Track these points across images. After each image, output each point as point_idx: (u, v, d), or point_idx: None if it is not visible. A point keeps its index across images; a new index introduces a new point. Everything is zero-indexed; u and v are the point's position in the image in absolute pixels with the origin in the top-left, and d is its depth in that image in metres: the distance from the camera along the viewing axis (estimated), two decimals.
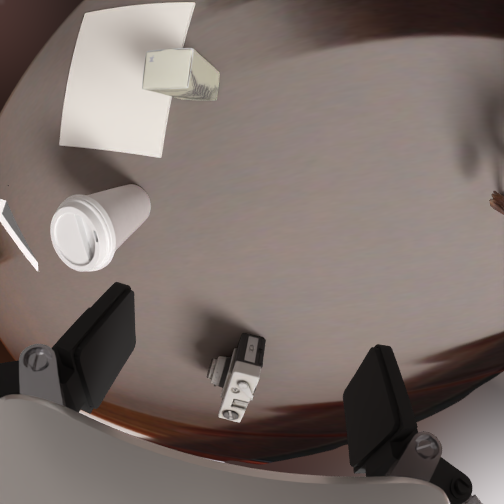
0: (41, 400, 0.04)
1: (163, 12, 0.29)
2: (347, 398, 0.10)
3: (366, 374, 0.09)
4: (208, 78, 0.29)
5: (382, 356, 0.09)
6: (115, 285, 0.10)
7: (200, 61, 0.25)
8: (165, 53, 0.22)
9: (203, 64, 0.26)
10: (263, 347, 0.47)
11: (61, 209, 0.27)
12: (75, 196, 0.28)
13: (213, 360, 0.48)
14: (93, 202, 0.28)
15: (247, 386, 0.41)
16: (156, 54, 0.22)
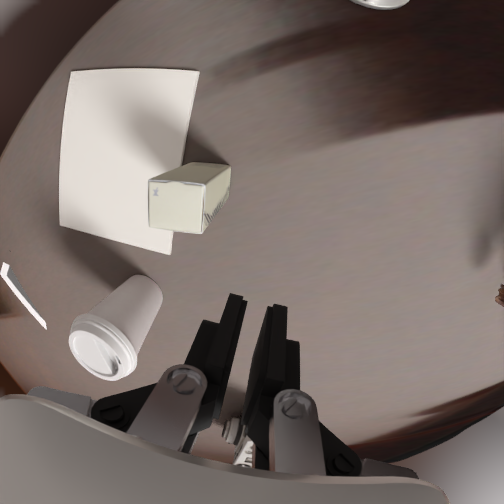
0: (41, 400, 0.04)
1: (162, 82, 0.30)
2: (252, 360, 0.12)
3: (261, 332, 0.11)
4: (220, 191, 0.29)
5: (273, 313, 0.10)
6: (231, 296, 0.11)
7: (213, 186, 0.25)
8: (171, 187, 0.22)
9: (215, 185, 0.26)
10: None
11: (78, 331, 0.28)
12: (90, 317, 0.29)
13: (227, 423, 0.49)
14: (110, 327, 0.29)
15: None
16: (160, 187, 0.22)
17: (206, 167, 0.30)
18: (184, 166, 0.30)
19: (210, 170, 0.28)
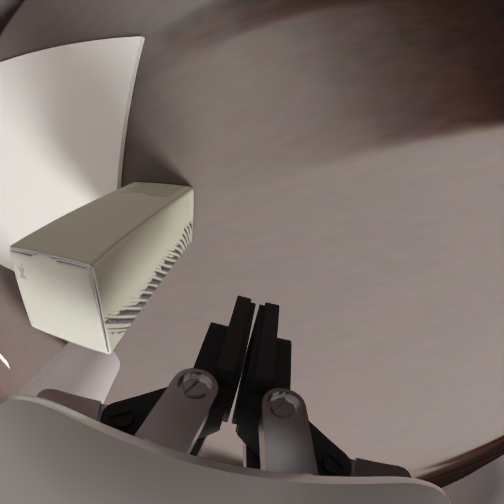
0: (40, 399, 0.04)
1: (90, 60, 0.16)
2: (245, 359, 0.12)
3: (253, 331, 0.11)
4: (164, 244, 0.16)
5: (264, 312, 0.10)
6: (240, 299, 0.11)
7: (132, 250, 0.12)
8: (40, 266, 0.09)
9: (143, 243, 0.13)
10: None
11: None
12: None
13: None
14: None
15: None
16: (25, 263, 0.09)
17: (143, 197, 0.16)
18: (109, 195, 0.16)
19: (143, 206, 0.15)
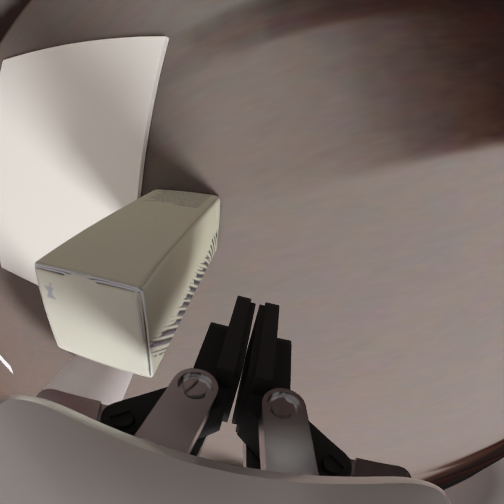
0: (41, 400, 0.04)
1: (109, 59, 0.16)
2: (245, 359, 0.12)
3: (253, 331, 0.11)
4: (197, 257, 0.15)
5: (264, 312, 0.10)
6: (239, 299, 0.11)
7: (173, 267, 0.11)
8: (74, 287, 0.09)
9: (182, 258, 0.12)
10: None
11: None
12: None
13: None
14: None
15: None
16: (55, 282, 0.09)
17: (172, 207, 0.16)
18: (134, 204, 0.16)
19: (176, 217, 0.14)
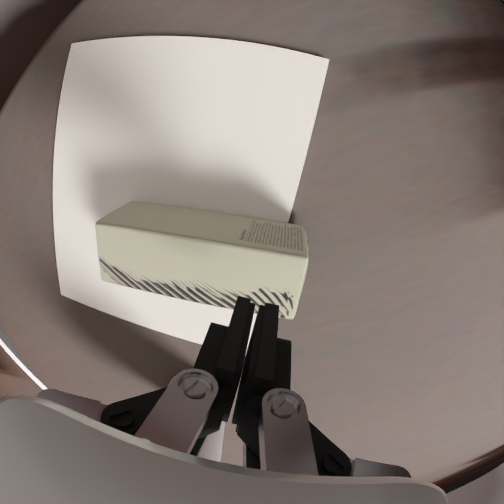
0: (41, 400, 0.04)
1: (256, 68, 0.16)
2: (245, 359, 0.12)
3: (253, 331, 0.11)
4: (197, 272, 0.16)
5: (264, 312, 0.10)
6: (240, 299, 0.11)
7: (135, 240, 0.16)
8: None
9: (152, 246, 0.16)
10: None
11: None
12: None
13: None
14: None
15: None
16: None
17: (234, 229, 0.17)
18: (238, 217, 0.19)
19: (201, 229, 0.16)
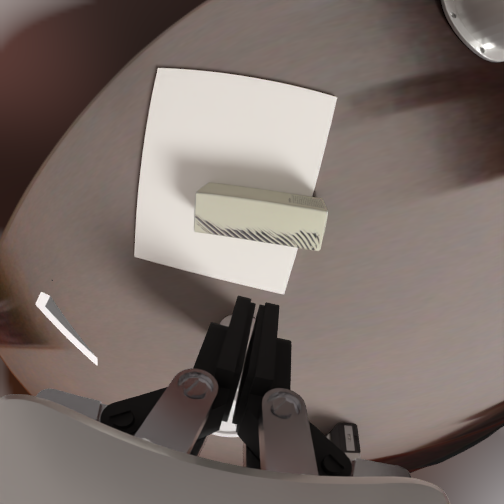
0: (41, 400, 0.04)
1: (293, 101, 0.27)
2: (245, 359, 0.12)
3: (253, 331, 0.11)
4: (263, 221, 0.28)
5: (264, 312, 0.10)
6: (240, 299, 0.11)
7: (225, 203, 0.27)
8: None
9: (236, 205, 0.27)
10: (357, 433, 0.45)
11: None
12: None
13: None
14: None
15: None
16: None
17: (283, 197, 0.29)
18: (282, 192, 0.31)
19: (265, 197, 0.28)
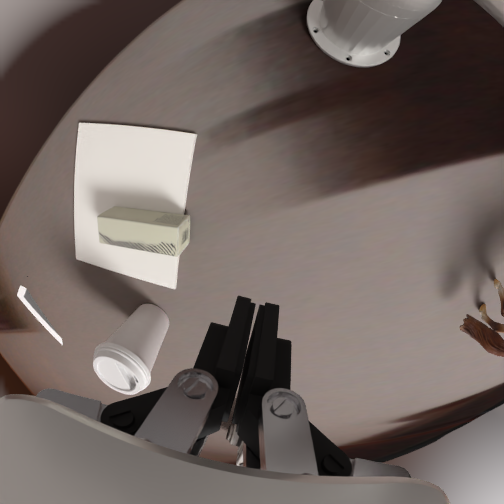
0: (40, 399, 0.04)
1: (163, 142, 0.37)
2: (245, 359, 0.12)
3: (253, 331, 0.11)
4: (137, 236, 0.37)
5: (264, 312, 0.10)
6: (240, 299, 0.11)
7: (114, 223, 0.37)
8: None
9: (120, 225, 0.37)
10: None
11: (102, 357, 0.35)
12: (112, 346, 0.36)
13: (231, 427, 0.56)
14: (129, 353, 0.36)
15: None
16: None
17: (154, 217, 0.38)
18: (160, 212, 0.40)
19: (140, 218, 0.37)
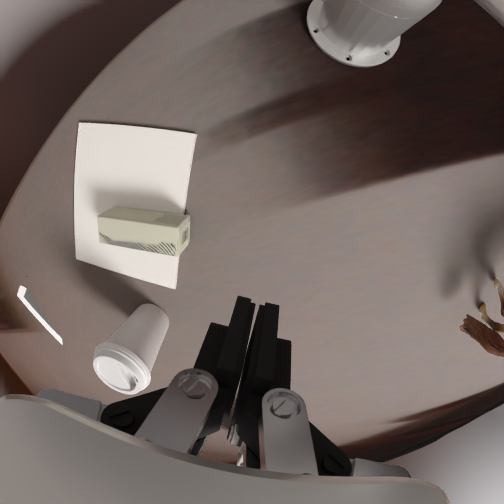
0: (41, 400, 0.04)
1: (163, 142, 0.37)
2: (245, 359, 0.12)
3: (253, 331, 0.11)
4: (137, 235, 0.37)
5: (264, 312, 0.10)
6: (240, 299, 0.11)
7: (114, 223, 0.37)
8: None
9: (120, 225, 0.37)
10: None
11: (102, 357, 0.35)
12: (112, 345, 0.36)
13: (231, 427, 0.56)
14: (129, 353, 0.36)
15: None
16: None
17: (153, 217, 0.38)
18: (160, 212, 0.40)
19: (140, 218, 0.37)
